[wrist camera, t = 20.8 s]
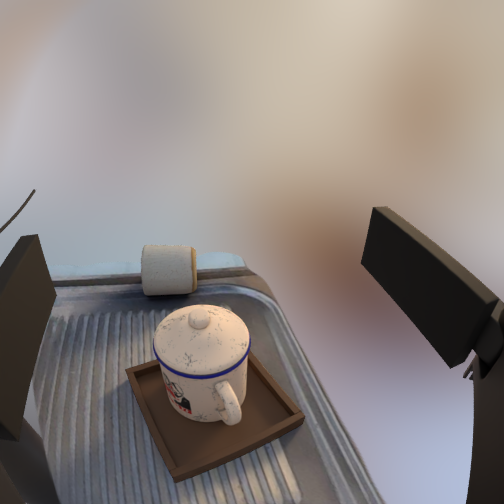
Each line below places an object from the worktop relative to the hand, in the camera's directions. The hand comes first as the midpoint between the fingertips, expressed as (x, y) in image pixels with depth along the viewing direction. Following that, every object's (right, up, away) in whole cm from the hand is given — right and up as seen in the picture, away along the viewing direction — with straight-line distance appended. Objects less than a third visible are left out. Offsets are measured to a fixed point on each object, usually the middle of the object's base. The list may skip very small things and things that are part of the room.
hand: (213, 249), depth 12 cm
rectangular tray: (-3, -17, +21) cm, 27 cm away
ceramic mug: (-12, -6, +39) cm, 41 cm away
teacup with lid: (-3, -16, +21) cm, 26 cm away
